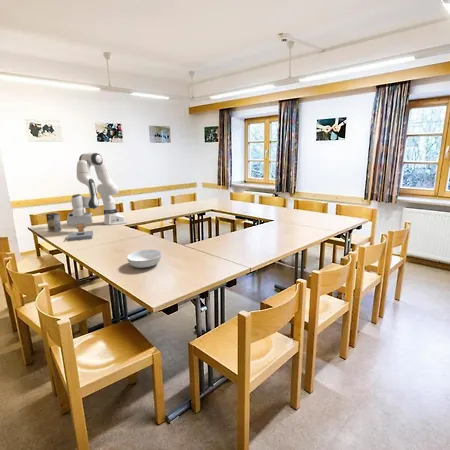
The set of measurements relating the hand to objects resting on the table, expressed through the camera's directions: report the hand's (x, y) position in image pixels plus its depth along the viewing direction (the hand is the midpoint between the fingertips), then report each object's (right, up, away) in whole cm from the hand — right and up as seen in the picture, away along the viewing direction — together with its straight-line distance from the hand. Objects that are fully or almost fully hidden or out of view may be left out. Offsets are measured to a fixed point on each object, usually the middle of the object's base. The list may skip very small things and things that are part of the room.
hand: (80, 228), depth 263 cm
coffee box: (-27, -3, +7) cm, 28 cm away
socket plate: (+7, -7, -14) cm, 17 cm away
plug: (0, -4, +1) cm, 4 cm away
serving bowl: (+77, -22, -75) cm, 110 cm away
